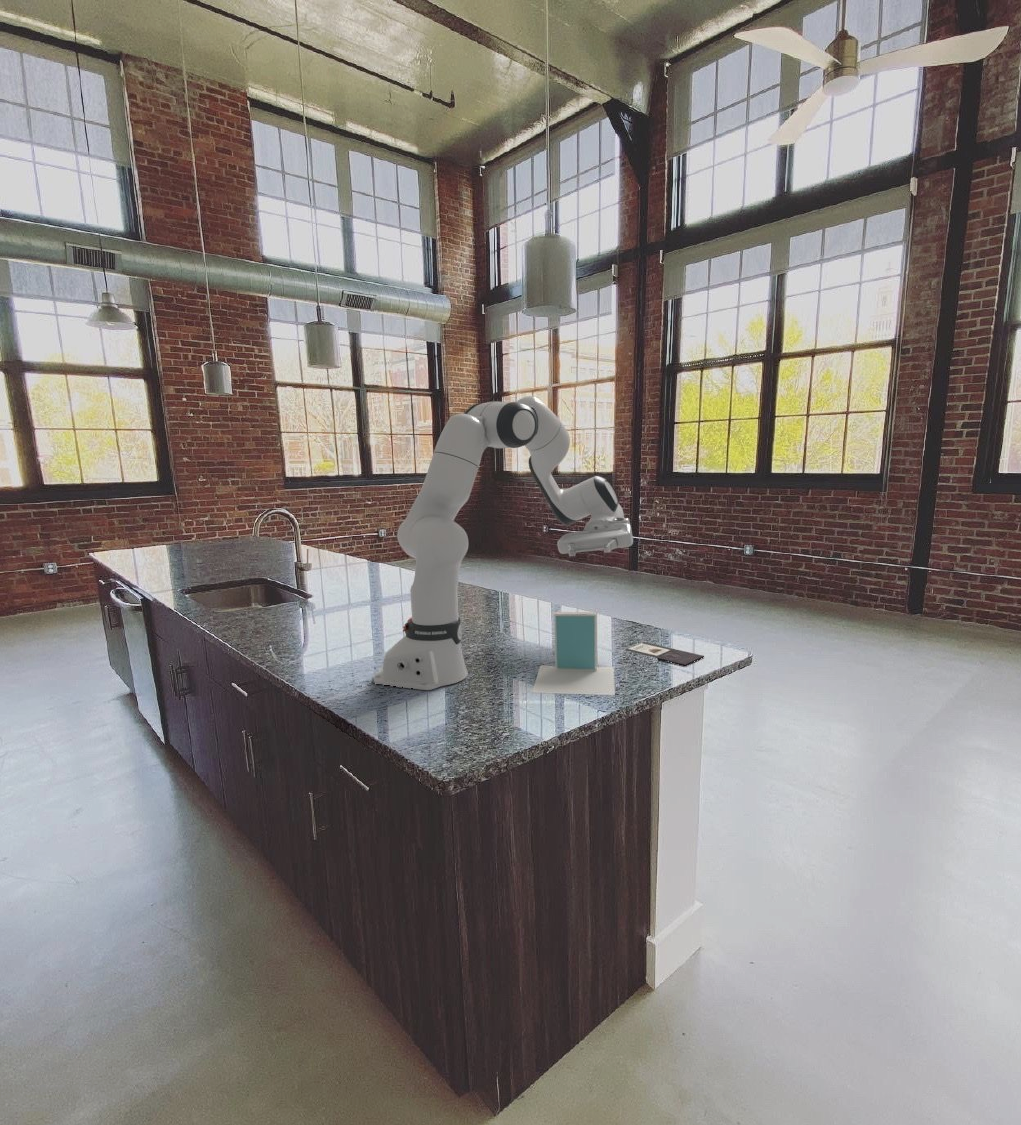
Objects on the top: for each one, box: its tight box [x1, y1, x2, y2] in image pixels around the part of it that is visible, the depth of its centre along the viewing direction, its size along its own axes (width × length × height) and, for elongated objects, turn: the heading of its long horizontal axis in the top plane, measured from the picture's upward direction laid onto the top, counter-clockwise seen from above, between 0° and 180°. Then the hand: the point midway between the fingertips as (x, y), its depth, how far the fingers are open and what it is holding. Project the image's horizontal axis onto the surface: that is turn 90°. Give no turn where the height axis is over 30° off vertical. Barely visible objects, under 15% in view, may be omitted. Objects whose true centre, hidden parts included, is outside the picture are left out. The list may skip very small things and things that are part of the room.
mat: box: [531, 665, 616, 696], centre depth 139 cm, size 18×18×1 cm
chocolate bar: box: [625, 642, 705, 667], centre depth 156 cm, size 9×1×18 cm
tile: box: [553, 611, 598, 671], centre depth 144 cm, size 10×2×14 cm, turn 81°
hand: (588, 551), depth 154 cm, fingers open, 8 cm apart
